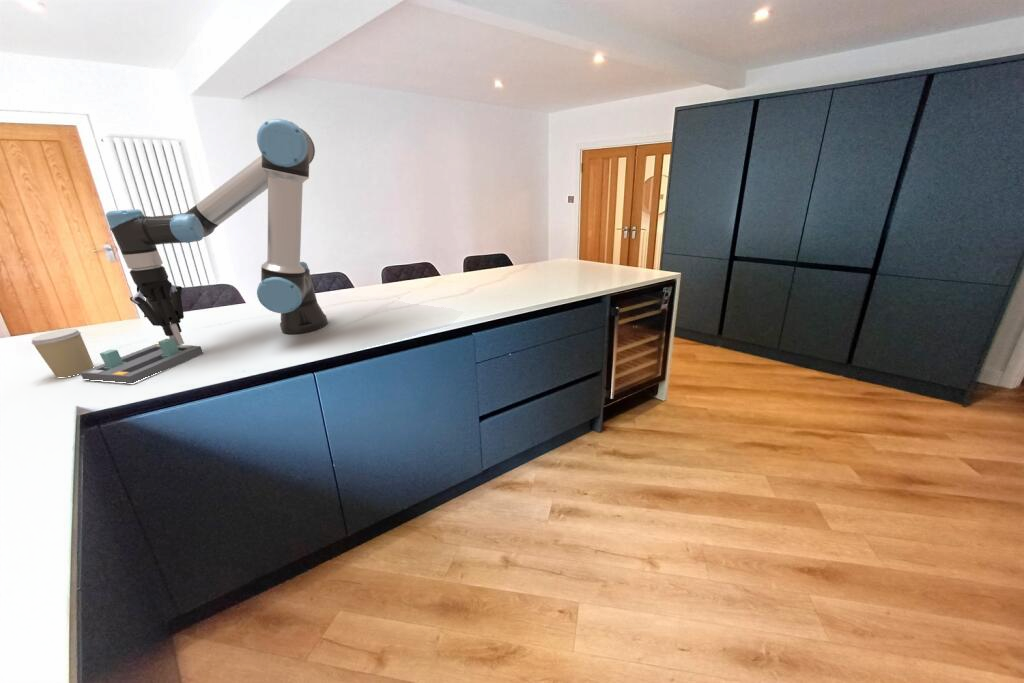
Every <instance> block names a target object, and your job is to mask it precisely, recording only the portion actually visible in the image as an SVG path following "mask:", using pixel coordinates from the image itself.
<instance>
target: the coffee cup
mask: <svg viewBox="0 0 1024 683" xmlns="http://www.w3.org/2000/svg"><path fill="white" fill-rule="evenodd" d="M31 344H32V345H33V347H34V348H35V349H36V350H37V352H38V354H39V355H40V356H41V358H42V359H43V360H44V362H45V363H46V364H47V366H48V368H49V369H50V370H51V372H52V373H53V375H54V376H55V377H56V378H57V377H68V376H73V375H77V374H80V373H81V372H84V371H86V370H89V369H91V368H93V367H95V365H94V363H93V361H92V358H91V356H90V353H89V351H88V348H87V347H86V344H85V342H84V338H83V336H82V333H81V331H80V330H78V329H77V328H66V329H60V330H53V331H50V332H46V333H42V334H40V335H37V336H35V337H32V338H31Z"/></svg>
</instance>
